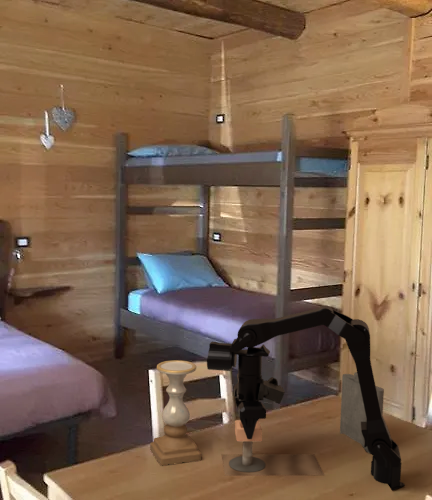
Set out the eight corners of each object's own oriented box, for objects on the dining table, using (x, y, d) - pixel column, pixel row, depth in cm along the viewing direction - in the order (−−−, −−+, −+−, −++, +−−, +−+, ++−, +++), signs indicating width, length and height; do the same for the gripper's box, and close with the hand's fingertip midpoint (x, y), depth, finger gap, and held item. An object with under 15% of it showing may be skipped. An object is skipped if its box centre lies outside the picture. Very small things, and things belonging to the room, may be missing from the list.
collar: (258, 431, 167) (259, 420, 166) (261, 441, 161) (261, 429, 160) (234, 431, 166) (235, 420, 166) (236, 441, 160) (237, 429, 160)
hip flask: (383, 453, 176) (386, 380, 174) (370, 456, 174) (374, 382, 172) (346, 432, 190) (349, 364, 188) (335, 434, 189) (337, 366, 187)
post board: (314, 459, 171) (315, 430, 171) (324, 481, 160) (325, 449, 159) (221, 460, 170) (222, 429, 169) (224, 481, 158) (225, 449, 157)
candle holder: (149, 449, 176) (150, 361, 173) (188, 444, 180) (190, 358, 177) (160, 466, 166) (161, 373, 163) (202, 460, 170) (203, 369, 167)
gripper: (288, 384, 153) (286, 449, 155) (277, 361, 171) (275, 420, 173) (240, 384, 152) (239, 449, 154) (234, 361, 171) (232, 420, 173)
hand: (248, 433), depth 163 cm, fingers closed on collar, 6 cm apart
